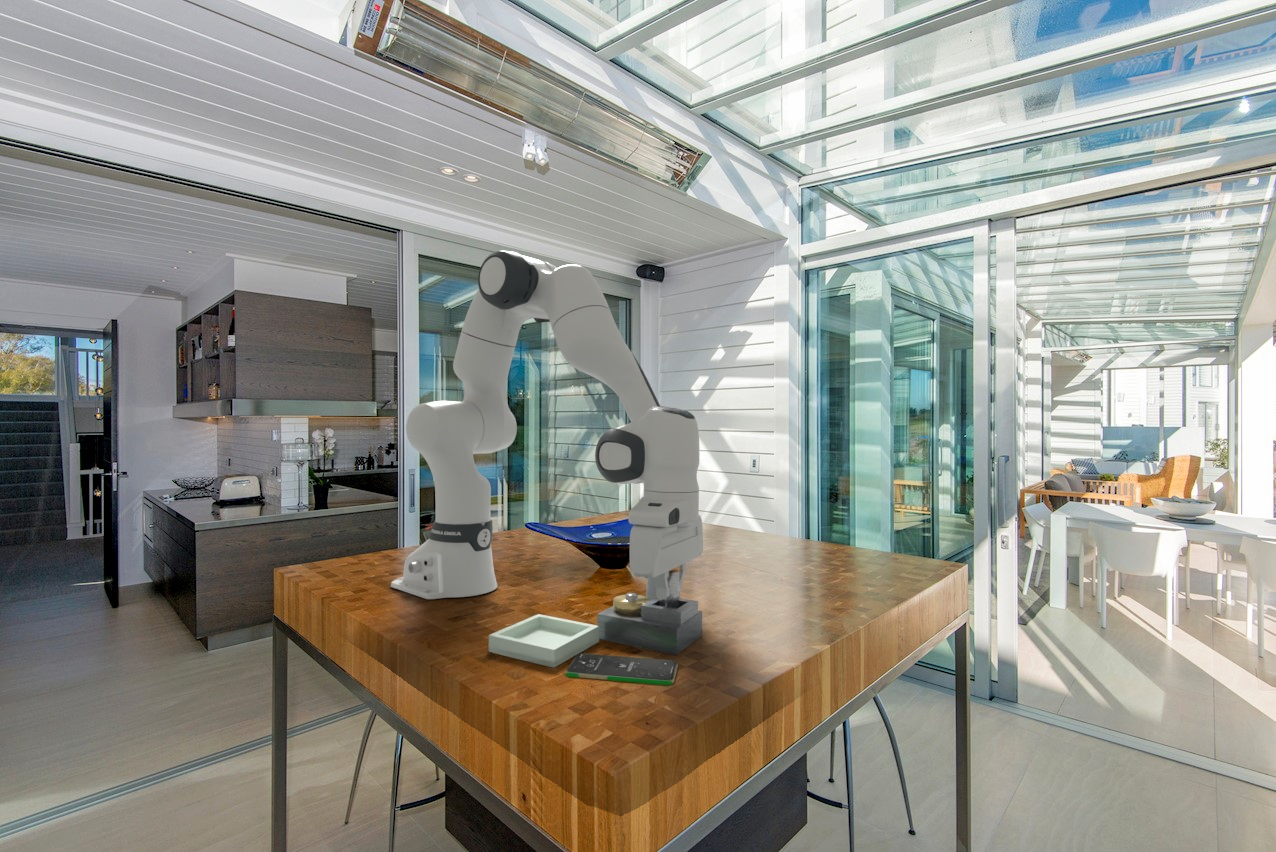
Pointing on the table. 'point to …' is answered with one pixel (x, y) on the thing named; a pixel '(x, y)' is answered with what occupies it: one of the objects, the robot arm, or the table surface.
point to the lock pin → (672, 590)
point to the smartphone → (623, 669)
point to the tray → (544, 640)
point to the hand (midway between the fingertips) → (669, 594)
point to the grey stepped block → (650, 623)
